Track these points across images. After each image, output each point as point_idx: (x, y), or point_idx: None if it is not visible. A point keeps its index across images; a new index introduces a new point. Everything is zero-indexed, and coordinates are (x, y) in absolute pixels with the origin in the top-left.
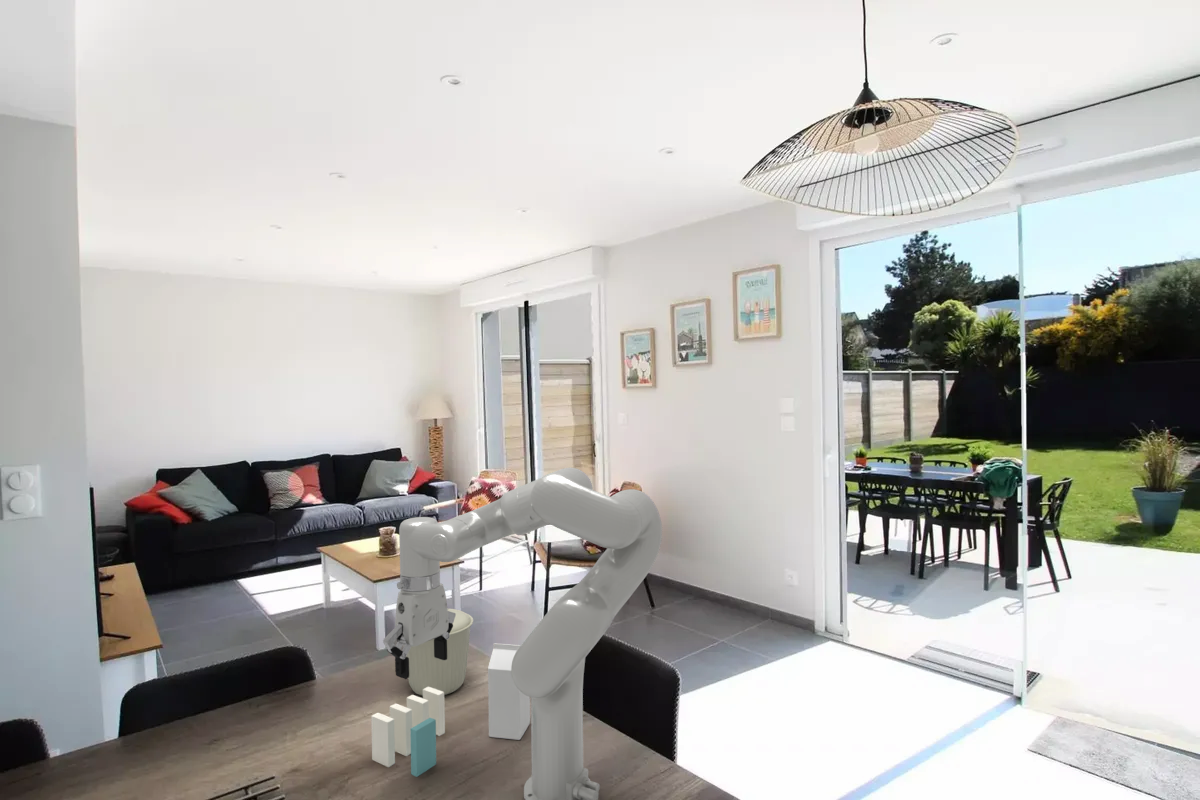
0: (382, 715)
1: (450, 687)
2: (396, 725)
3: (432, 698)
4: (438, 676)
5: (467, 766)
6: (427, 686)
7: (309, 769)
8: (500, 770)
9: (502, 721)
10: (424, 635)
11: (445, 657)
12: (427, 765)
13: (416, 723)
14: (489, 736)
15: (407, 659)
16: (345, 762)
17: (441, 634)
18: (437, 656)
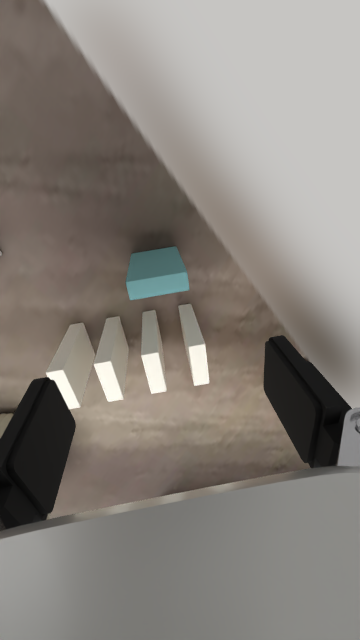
0: (195, 372)
1: (2, 419)
2: (161, 355)
3: (73, 376)
4: None
5: (90, 199)
6: None
7: (258, 369)
8: (38, 122)
9: None
10: (292, 578)
11: (42, 384)
12: (152, 252)
13: (120, 349)
14: (1, 253)
15: (329, 399)
16: (222, 354)
17: (20, 535)
18: (67, 416)
